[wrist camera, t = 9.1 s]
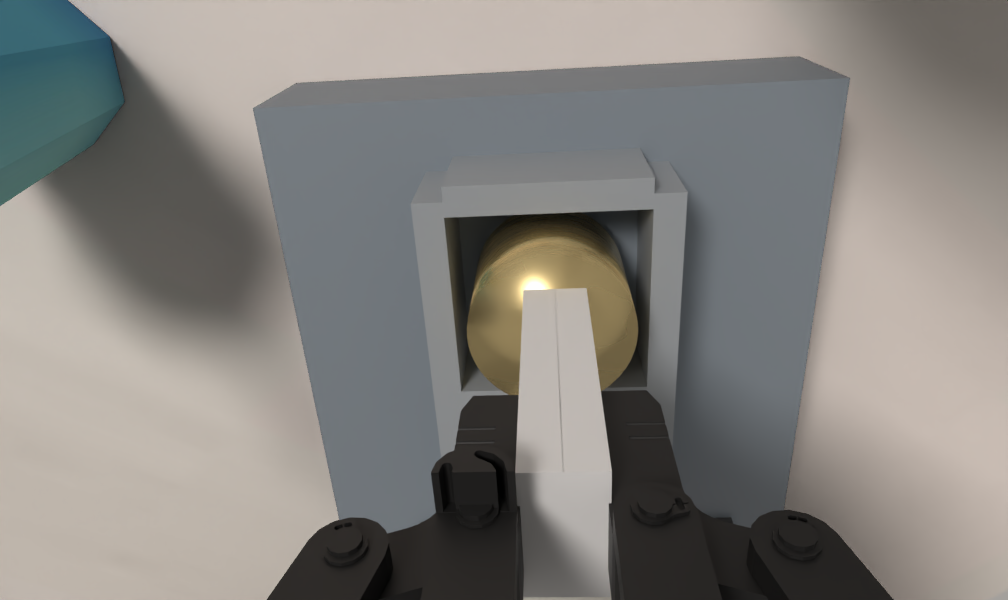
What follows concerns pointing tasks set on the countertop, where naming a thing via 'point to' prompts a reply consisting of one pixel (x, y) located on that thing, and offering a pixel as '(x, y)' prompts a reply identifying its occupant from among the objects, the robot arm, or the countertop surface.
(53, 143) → the cup
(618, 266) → the button brass
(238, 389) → the countertop surface
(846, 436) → the countertop surface
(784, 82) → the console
